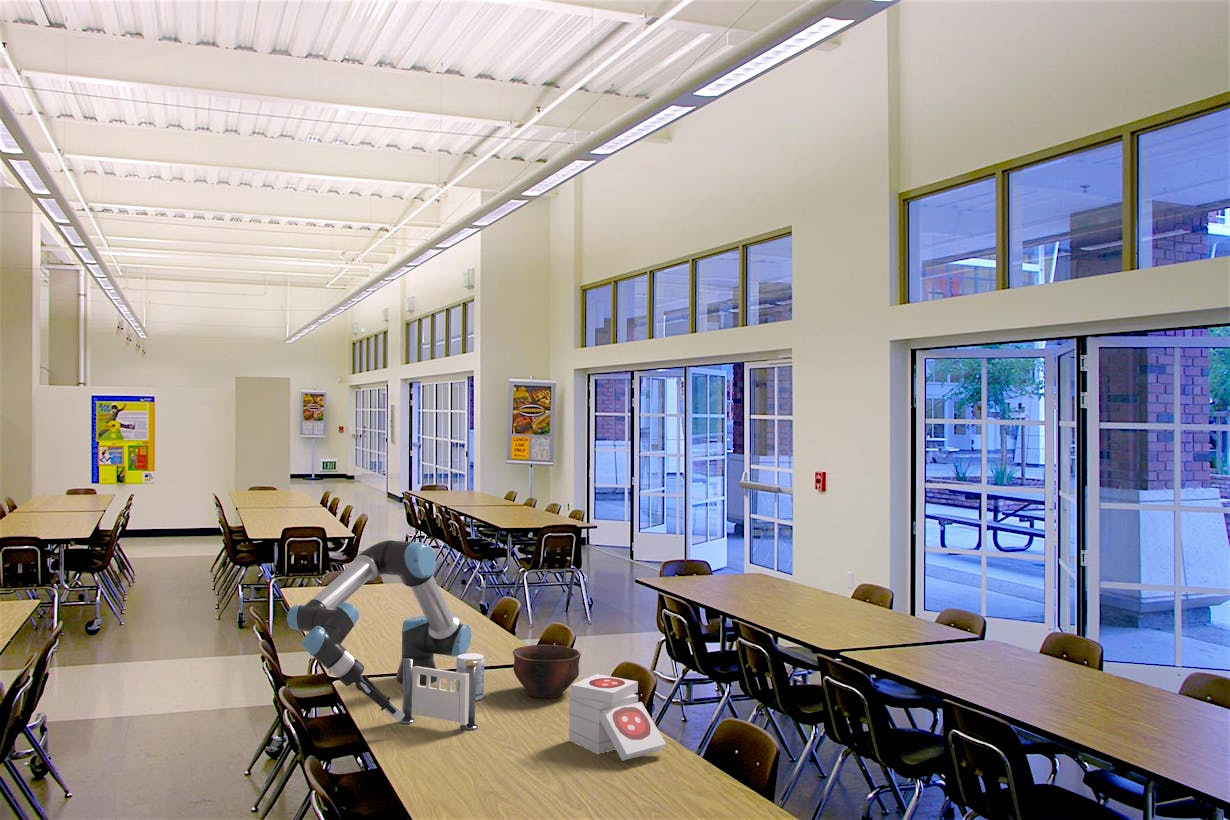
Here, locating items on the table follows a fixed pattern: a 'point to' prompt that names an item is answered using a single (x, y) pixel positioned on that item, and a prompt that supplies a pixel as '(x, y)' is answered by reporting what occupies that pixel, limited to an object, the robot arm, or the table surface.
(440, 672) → the gate
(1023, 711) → the table surface
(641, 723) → the pizza boxes
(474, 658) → the supplement tub
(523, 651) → the bowl
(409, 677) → the hinge post
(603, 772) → the table surface
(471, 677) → the latch post
